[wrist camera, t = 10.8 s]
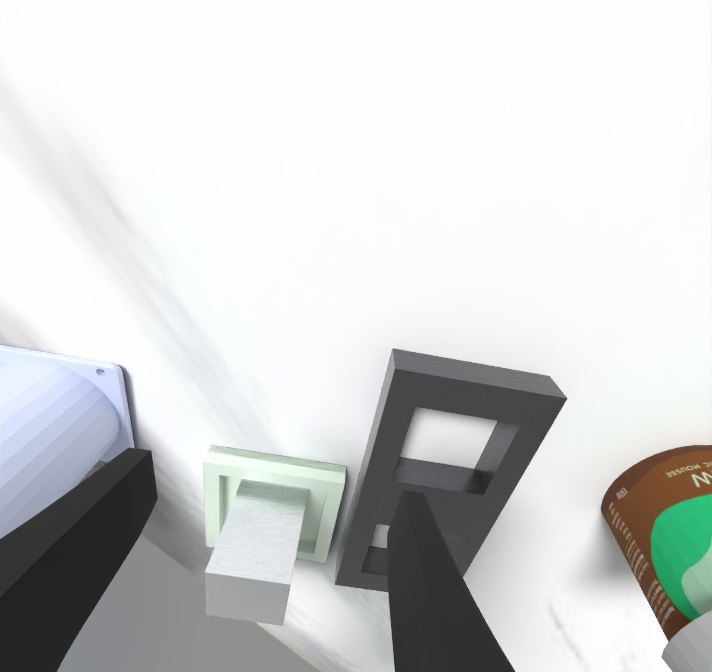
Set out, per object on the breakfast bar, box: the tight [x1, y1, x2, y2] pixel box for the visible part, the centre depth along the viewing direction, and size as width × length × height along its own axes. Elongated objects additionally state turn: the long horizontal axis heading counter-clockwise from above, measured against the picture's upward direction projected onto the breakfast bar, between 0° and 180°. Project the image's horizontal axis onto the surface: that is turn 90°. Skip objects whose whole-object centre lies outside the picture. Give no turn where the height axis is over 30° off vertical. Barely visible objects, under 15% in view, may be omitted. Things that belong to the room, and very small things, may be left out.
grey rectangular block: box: [205, 479, 308, 626], centre depth 22 cm, size 4×4×6 cm
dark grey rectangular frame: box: [335, 349, 567, 592], centre depth 23 cm, size 9×20×2 cm, turn 170°
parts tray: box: [203, 445, 346, 564], centre depth 25 cm, size 9×9×1 cm
